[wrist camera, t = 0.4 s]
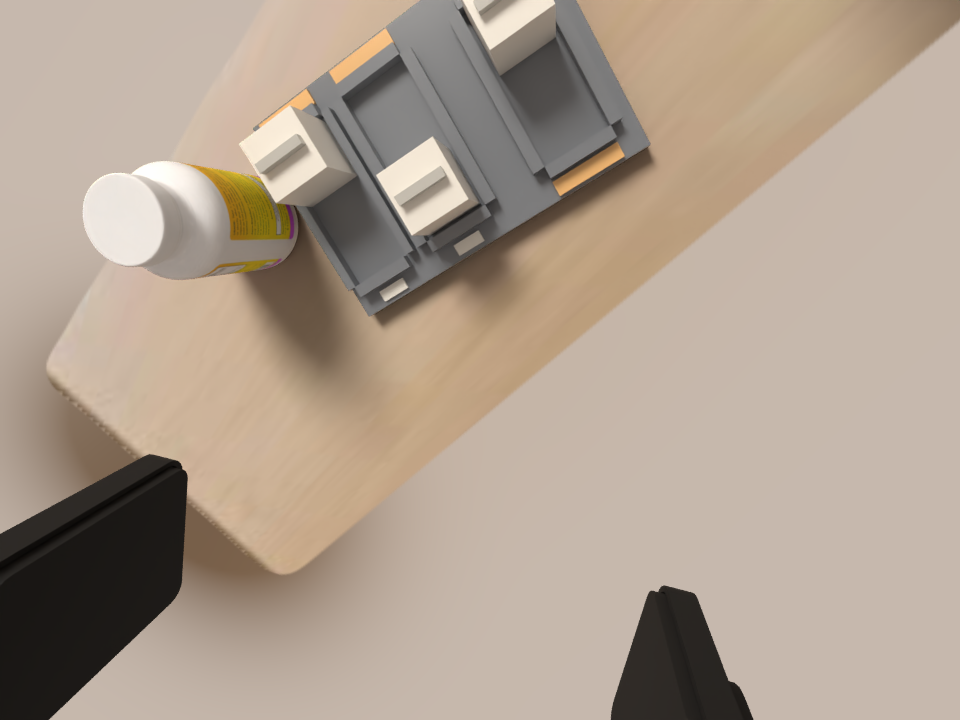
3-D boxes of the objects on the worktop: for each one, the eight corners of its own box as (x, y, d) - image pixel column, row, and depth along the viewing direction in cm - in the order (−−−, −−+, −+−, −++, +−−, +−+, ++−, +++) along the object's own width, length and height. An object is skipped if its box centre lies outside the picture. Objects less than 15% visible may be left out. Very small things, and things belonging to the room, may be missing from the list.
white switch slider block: (523, -25, 32) (516, -76, 27) (555, 37, 33) (555, -2, 27) (467, 17, 33) (449, -25, 28) (499, 76, 34) (488, 46, 28)
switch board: (532, -74, 33) (526, -151, 26) (647, 147, 35) (668, 127, 28) (261, 131, 38) (200, 110, 31) (374, 314, 40) (338, 330, 33)
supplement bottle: (245, 157, 39) (97, 121, 26) (318, 214, 39) (205, 205, 26) (202, 233, 40) (45, 233, 28) (272, 287, 41) (147, 311, 28)
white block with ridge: (449, 149, 35) (430, 134, 30) (480, 203, 36) (466, 198, 30) (400, 182, 36) (372, 174, 31) (431, 235, 37) (408, 235, 31)
